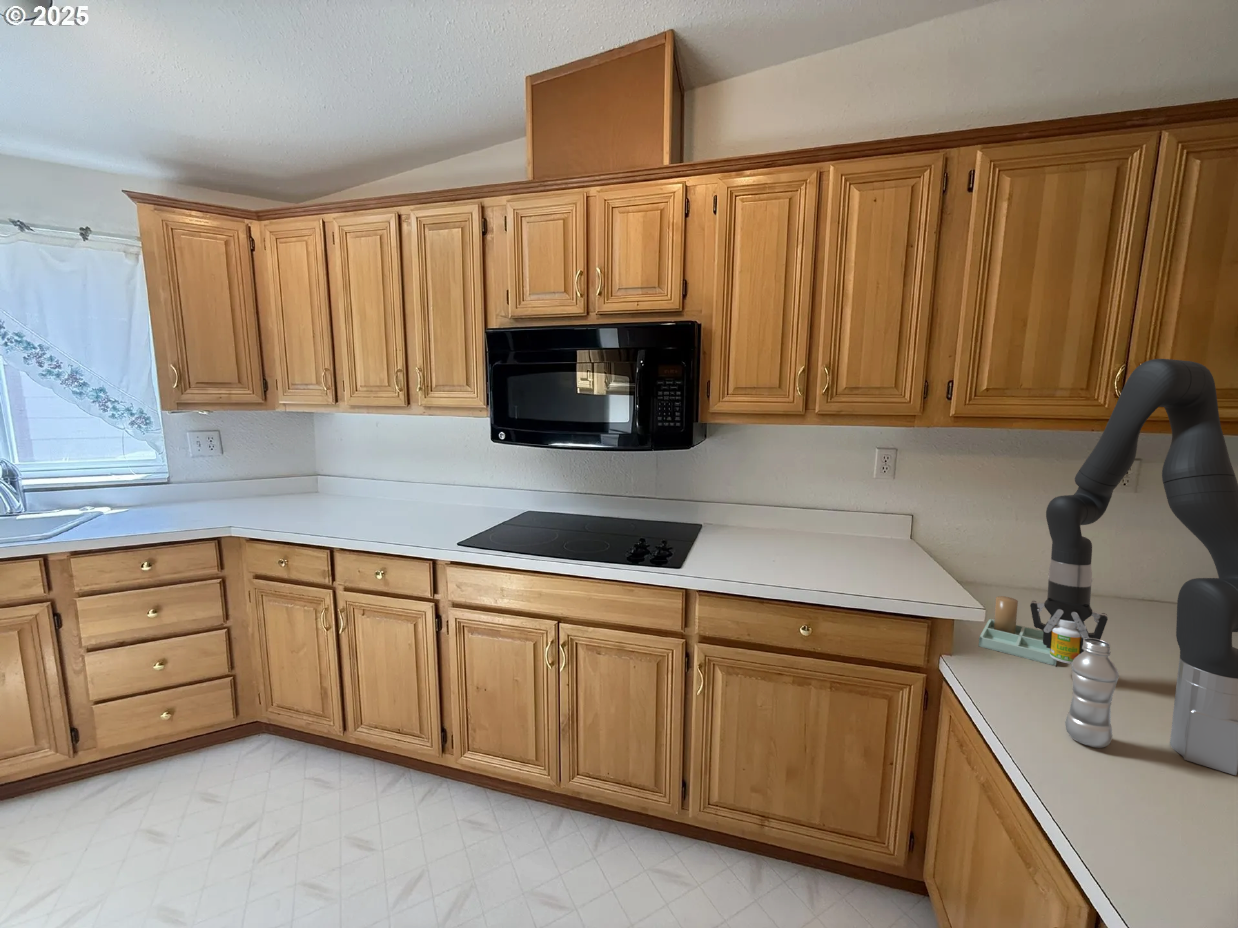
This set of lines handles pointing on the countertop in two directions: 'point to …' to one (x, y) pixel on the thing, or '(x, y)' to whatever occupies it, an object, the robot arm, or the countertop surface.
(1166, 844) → the countertop surface
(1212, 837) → the countertop surface
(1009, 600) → the tan cylinder
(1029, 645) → the tray
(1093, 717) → the plastic bottle
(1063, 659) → the supplement bottle
